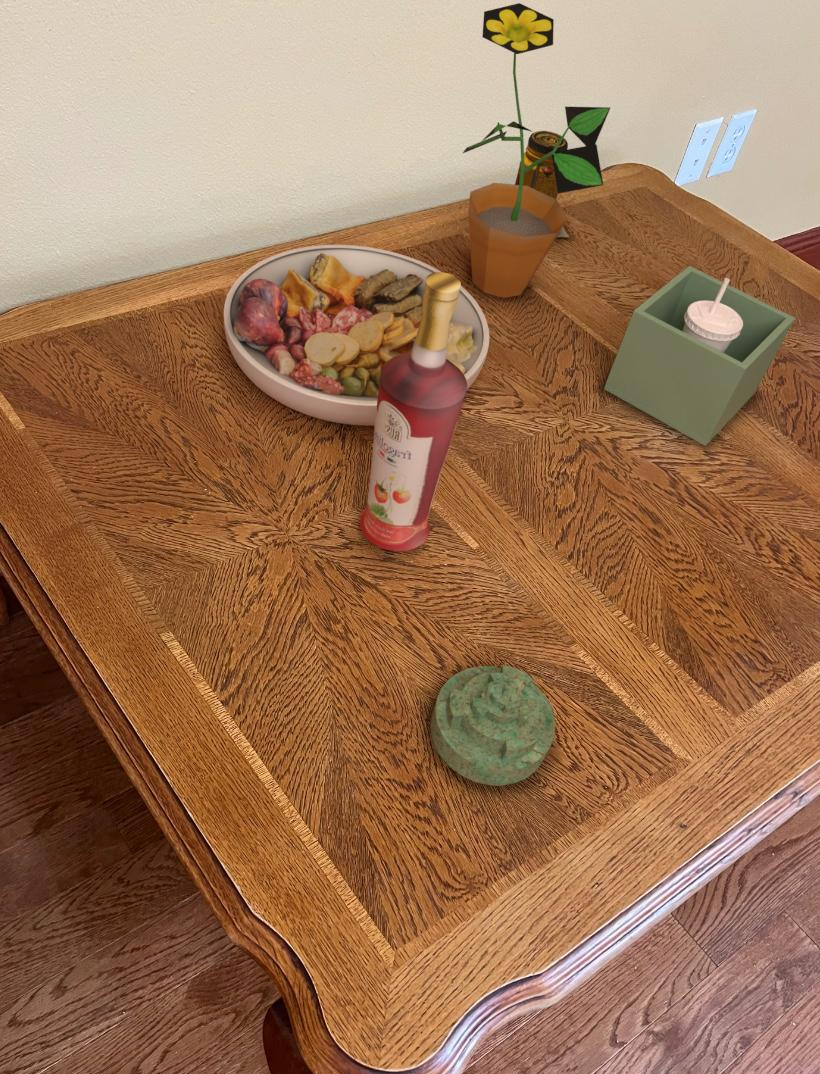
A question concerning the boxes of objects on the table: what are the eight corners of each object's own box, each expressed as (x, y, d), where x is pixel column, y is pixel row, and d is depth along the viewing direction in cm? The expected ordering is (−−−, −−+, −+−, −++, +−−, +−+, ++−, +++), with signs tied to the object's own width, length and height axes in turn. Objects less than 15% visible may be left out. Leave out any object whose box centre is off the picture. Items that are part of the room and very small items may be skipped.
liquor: (444, 538, 93) (510, 289, 71) (393, 573, 89) (445, 323, 67) (392, 496, 96) (441, 244, 74) (340, 529, 92) (374, 274, 70)
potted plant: (400, 271, 122) (441, 15, 98) (497, 230, 131) (554, -13, 107) (501, 341, 114) (570, 84, 91) (595, 293, 124) (680, 48, 100)
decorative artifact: (457, 799, 75) (567, 768, 78) (475, 756, 70) (592, 724, 72) (412, 697, 81) (516, 672, 84) (426, 649, 75) (536, 624, 78)
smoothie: (675, 362, 115) (722, 258, 104) (719, 389, 112) (772, 286, 101) (646, 382, 111) (691, 277, 100) (690, 410, 109) (741, 306, 98)
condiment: (498, 210, 134) (518, 125, 125) (554, 211, 136) (578, 127, 127) (511, 238, 130) (532, 152, 121) (568, 239, 131) (594, 154, 122)
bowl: (428, 271, 122) (438, 214, 116) (521, 422, 105) (539, 365, 99) (199, 290, 114) (197, 230, 108) (260, 458, 97) (262, 398, 91)
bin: (656, 342, 118) (689, 265, 110) (754, 394, 114) (795, 317, 105) (603, 389, 111) (633, 310, 102) (705, 446, 106) (745, 369, 98)
